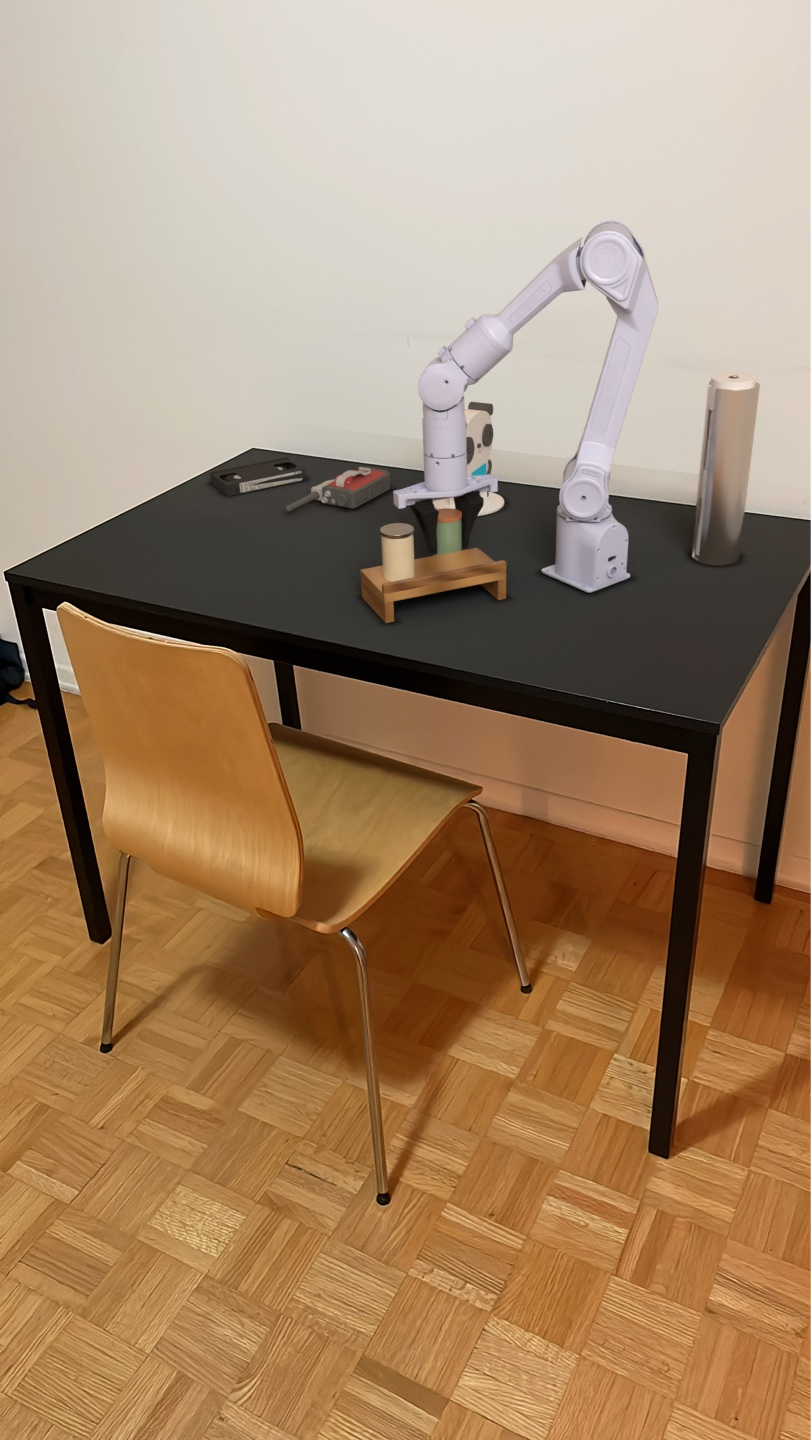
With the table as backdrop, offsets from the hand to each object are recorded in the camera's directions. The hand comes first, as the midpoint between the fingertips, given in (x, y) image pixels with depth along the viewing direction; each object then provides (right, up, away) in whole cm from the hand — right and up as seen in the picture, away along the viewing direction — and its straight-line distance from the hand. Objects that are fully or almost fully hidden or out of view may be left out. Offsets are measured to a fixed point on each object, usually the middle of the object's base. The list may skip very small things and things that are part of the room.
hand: (447, 548), depth 157 cm
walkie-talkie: (-16, +12, +27) cm, 34 cm away
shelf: (-2, -8, -7) cm, 10 cm away
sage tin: (0, -1, +1) cm, 1 cm away
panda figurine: (+4, +10, +24) cm, 27 cm away
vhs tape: (-31, +17, +38) cm, 52 cm away
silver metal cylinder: (+37, -1, +2) cm, 38 cm away
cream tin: (-7, -5, -10) cm, 13 cm away
